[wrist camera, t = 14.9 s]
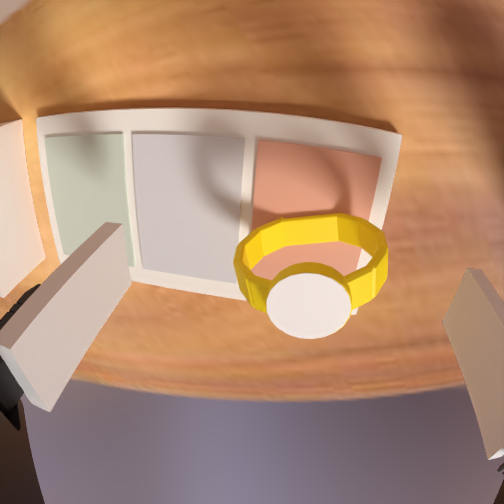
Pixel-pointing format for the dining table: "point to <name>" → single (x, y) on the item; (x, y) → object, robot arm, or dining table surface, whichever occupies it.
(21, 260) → the base
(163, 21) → the dining table surface
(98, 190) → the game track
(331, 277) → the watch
